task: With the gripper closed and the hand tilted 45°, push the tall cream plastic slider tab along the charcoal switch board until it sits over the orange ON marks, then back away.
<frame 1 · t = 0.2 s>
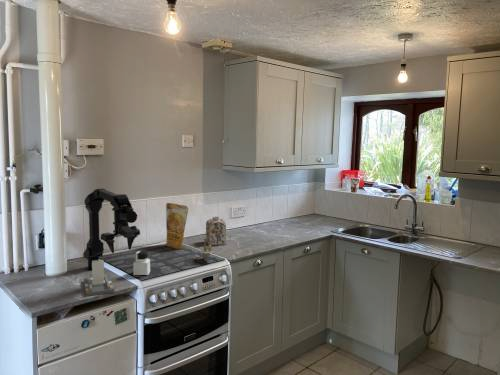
hand: (121, 251, 201), 15 cm above the table, tool pointing down, fingers open, 9 cm apart
pancake mix bag: (175, 246, 266), on the table
architectural model: (206, 261, 239), on the table
slider tab: (98, 272, 193), point 7 cm above the table, slide at 0.0 cm
decorative jar: (215, 243, 277), on the table
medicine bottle: (142, 274, 213), on the table
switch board: (98, 286, 194), on the table
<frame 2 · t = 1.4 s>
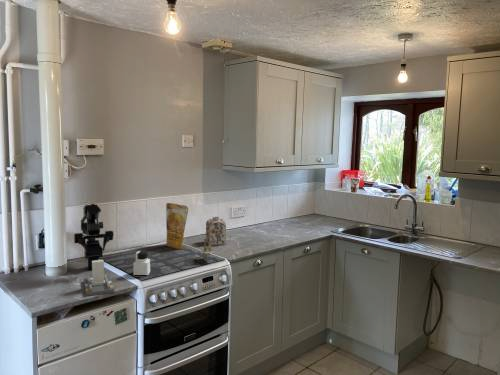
hand: (95, 251, 205), 13 cm above the table, tool tilted 45°, fingers open, 8 cm apart
nothing on the table moved.
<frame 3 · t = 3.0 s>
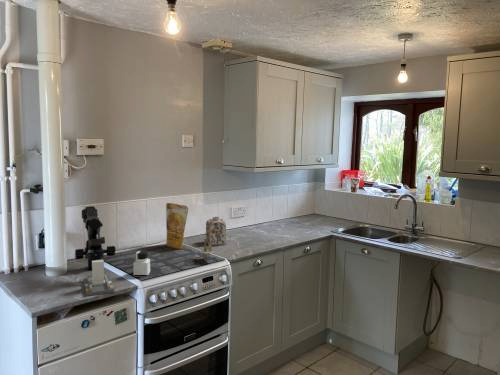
hand: (96, 267, 199), 7 cm above the table, tool tilted 45°, fingers closed
nothing on the table moved.
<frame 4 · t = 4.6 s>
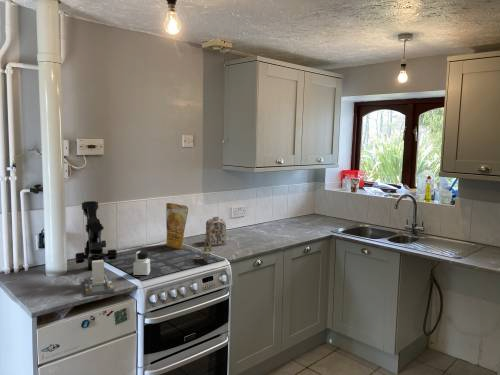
hand: (97, 271, 194), 7 cm above the table, tool tilted 45°, fingers closed, pressing on slider tab
slider tab: (98, 272, 193), point 7 cm above the table, slide at 0.1 cm, touching gripper
everything else where it was.
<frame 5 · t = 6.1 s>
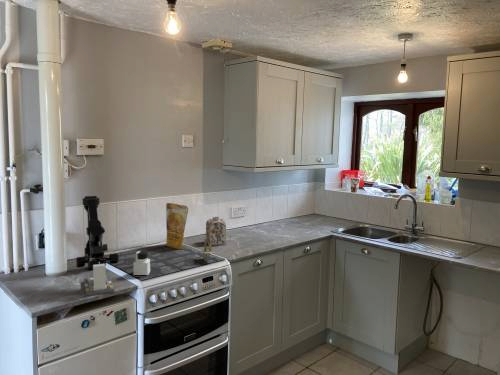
hand: (99, 276, 189), 7 cm above the table, tool tilted 45°, fingers closed, pressing on slider tab
slider tab: (99, 276, 187), point 7 cm above the table, slide at 6.7 cm, touching gripper
everything else where it was.
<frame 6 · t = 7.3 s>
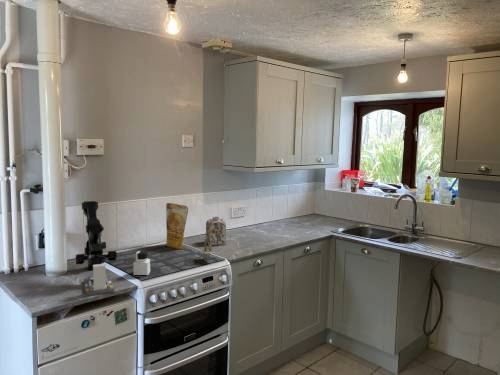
hand: (97, 273, 195), 6 cm above the table, tool tilted 45°, fingers closed
slider tab: (99, 276, 187), point 7 cm above the table, slide at 6.7 cm
everything else where it was.
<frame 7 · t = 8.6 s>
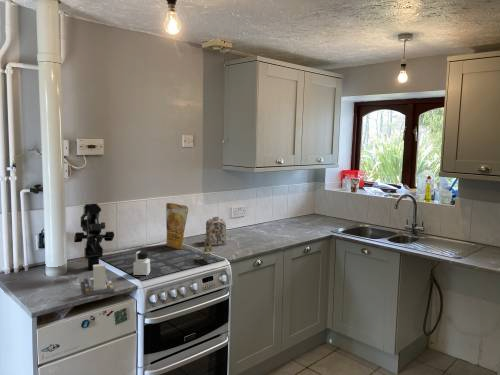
hand: (95, 251, 205), 13 cm above the table, tool tilted 40°, fingers closed
nothing on the table moved.
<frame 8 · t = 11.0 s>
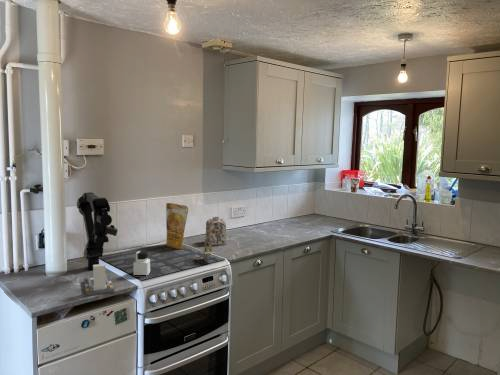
hand: (100, 252, 209), 12 cm above the table, tool pointing down, fingers closed
nothing on the table moved.
at the end: slider tab slide at 6.7 cm; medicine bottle moved 0.2 cm from its start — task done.
